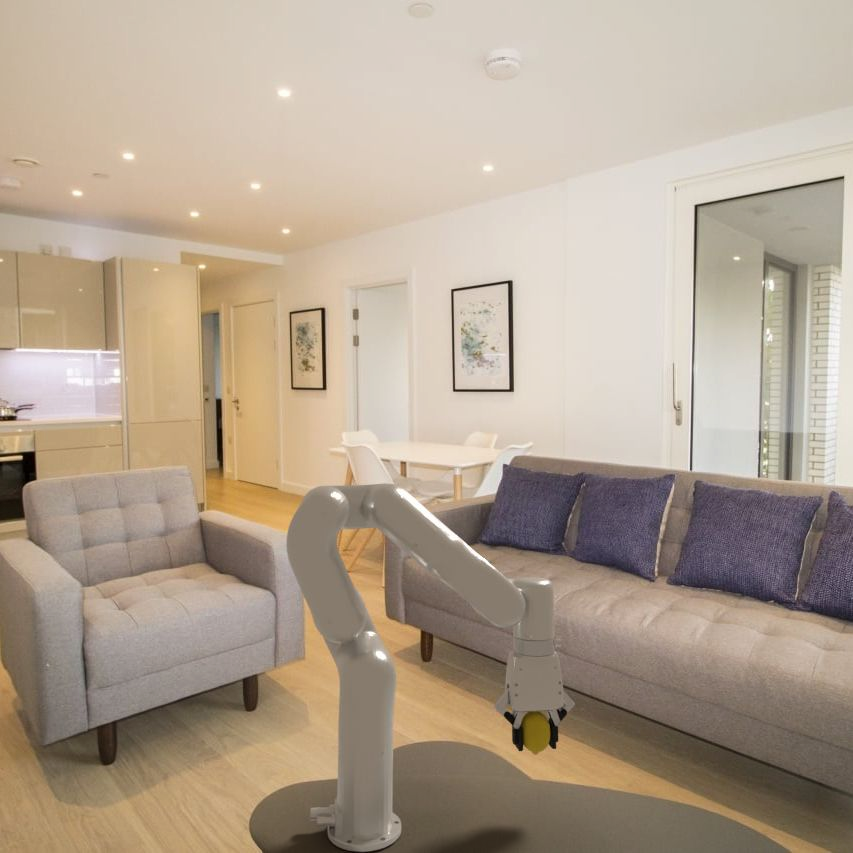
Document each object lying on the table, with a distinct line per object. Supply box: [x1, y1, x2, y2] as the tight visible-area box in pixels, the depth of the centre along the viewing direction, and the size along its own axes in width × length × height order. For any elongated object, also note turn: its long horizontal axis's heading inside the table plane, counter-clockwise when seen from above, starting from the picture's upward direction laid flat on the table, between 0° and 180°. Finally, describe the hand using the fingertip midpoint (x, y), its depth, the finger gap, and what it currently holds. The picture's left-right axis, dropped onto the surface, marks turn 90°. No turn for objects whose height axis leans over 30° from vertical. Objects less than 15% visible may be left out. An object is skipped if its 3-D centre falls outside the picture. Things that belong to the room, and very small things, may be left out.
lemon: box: [521, 711, 551, 755], centre depth 117 cm, size 6×6×8 cm
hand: (535, 746), depth 117 cm, fingers closed on lemon, 5 cm apart
